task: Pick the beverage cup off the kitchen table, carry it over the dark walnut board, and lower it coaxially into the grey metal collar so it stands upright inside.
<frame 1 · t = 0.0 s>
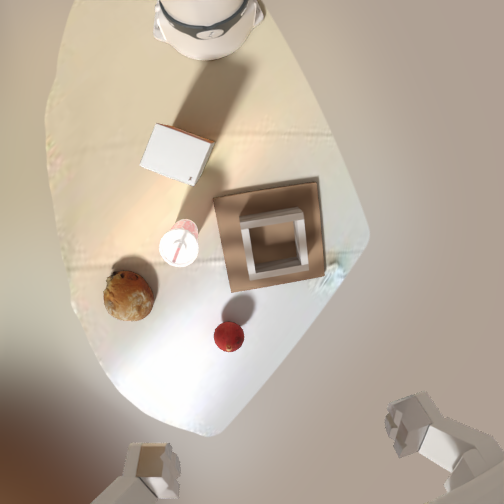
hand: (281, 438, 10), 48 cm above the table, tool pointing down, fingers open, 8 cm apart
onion: (228, 325, 64), on the table
bread roll: (129, 291, 60), on the table
walnut board: (271, 238, 58), on the table
small box: (186, 150, 52), on the table
beverage cup: (185, 230, 57), on the table
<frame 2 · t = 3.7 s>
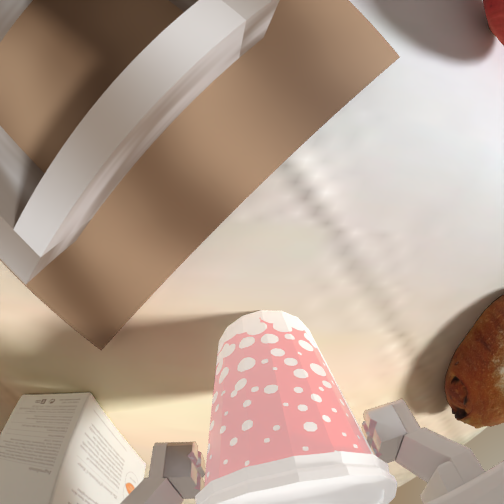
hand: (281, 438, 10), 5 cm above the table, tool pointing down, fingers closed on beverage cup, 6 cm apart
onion: (488, 26, 10), on the table
bread roll: (489, 348, 18), on the table
walnut board: (78, 61, 10), on the table
small box: (84, 430, 17), on the table
beverage cup: (265, 347, 15), on the table, touching gripper
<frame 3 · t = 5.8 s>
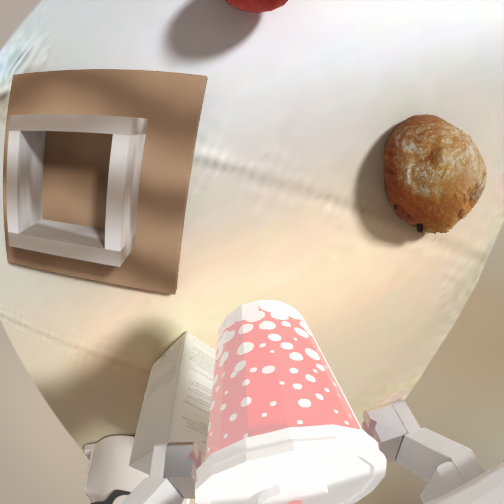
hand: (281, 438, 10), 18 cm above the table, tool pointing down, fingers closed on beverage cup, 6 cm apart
bread roll: (423, 172, 26), on the table
walnut board: (86, 176, 24), on the table
small box: (199, 366, 32), on the table
beverage cup: (262, 336, 16), point 12 cm above the table, touching gripper
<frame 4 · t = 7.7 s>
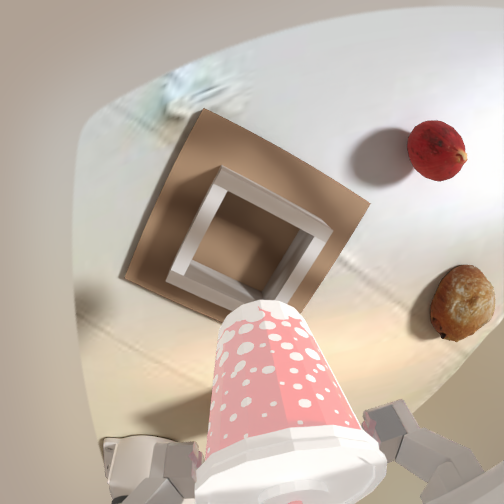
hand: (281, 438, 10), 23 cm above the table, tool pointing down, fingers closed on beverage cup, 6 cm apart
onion: (415, 147, 29), on the table
bread roll: (454, 298, 37), on the table
walnut board: (244, 237, 31), on the table
beverage cup: (262, 336, 16), point 16 cm above the table, touching gripper
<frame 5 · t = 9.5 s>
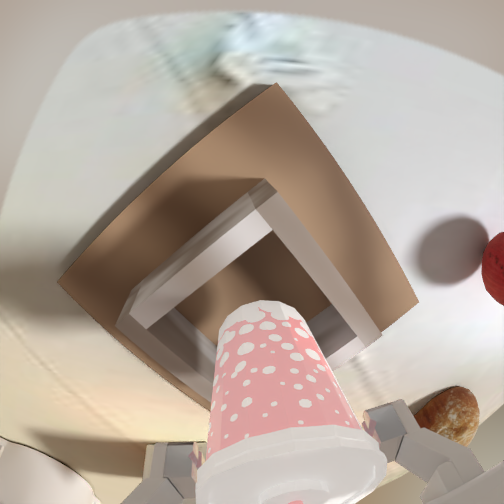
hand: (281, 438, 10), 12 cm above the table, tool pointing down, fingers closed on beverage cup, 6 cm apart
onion: (484, 250, 22), on the table
bread roll: (434, 415, 30), on the table
walnut board: (248, 290, 21), on the table
small box: (186, 460, 28), on the table
beverage cup: (262, 336, 16), point 5 cm above the table, touching gripper
when the fingers open (8 cm above the table, at t = 11.3 s): beverage cup stays where it is, resting on walnut board.
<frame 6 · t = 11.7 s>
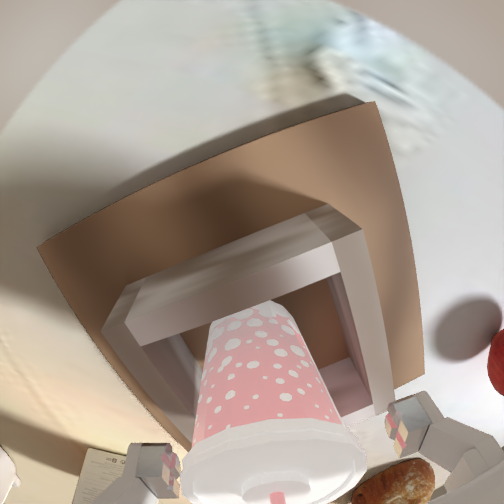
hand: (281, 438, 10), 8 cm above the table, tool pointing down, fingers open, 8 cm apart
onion: (493, 334, 20), on the table
bread roll: (388, 480, 28), on the table
walnut board: (260, 322, 17), on the table
small box: (126, 472, 23), on the table
beverage cup: (252, 333, 17), point 1 cm above the table, touching walnut board
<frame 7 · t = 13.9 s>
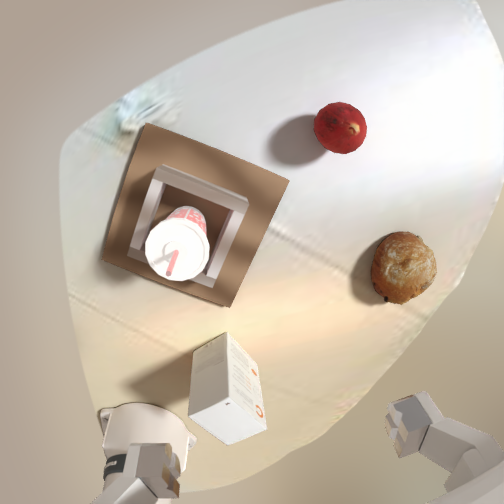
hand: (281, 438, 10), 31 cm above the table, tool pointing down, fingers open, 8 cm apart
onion: (329, 128, 36), on the table
bread roll: (397, 264, 44), on the table
walnut board: (189, 218, 38), on the table
small box: (225, 357, 47), on the table
beverage cup: (187, 224, 38), point 1 cm above the table, touching walnut board
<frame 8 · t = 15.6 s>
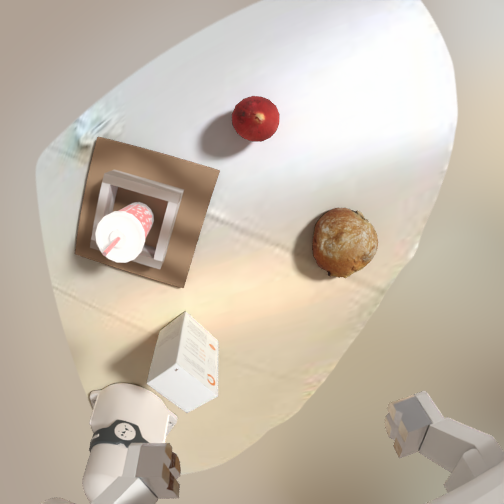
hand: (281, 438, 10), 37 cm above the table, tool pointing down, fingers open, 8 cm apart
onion: (253, 120, 41), on the table
bread roll: (340, 239, 48), on the table
walnut board: (140, 213, 44), on the table
small box: (189, 335, 52), on the table
beverage cup: (138, 217, 43), point 1 cm above the table, touching walnut board
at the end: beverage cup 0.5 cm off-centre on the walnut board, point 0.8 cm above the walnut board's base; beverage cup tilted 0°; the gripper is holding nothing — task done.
